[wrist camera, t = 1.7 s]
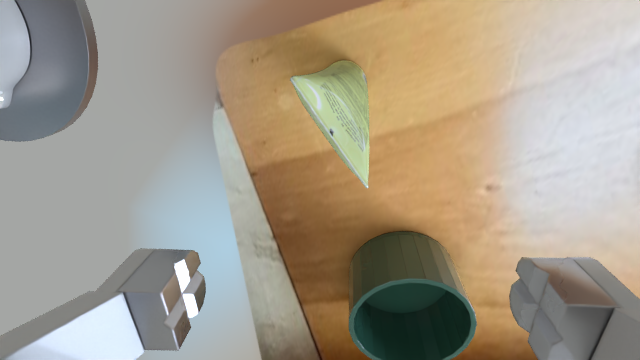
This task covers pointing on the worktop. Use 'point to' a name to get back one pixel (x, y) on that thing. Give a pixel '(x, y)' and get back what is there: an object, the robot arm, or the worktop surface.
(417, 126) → the worktop surface
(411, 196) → the worktop surface
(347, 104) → the tube
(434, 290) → the vessel
